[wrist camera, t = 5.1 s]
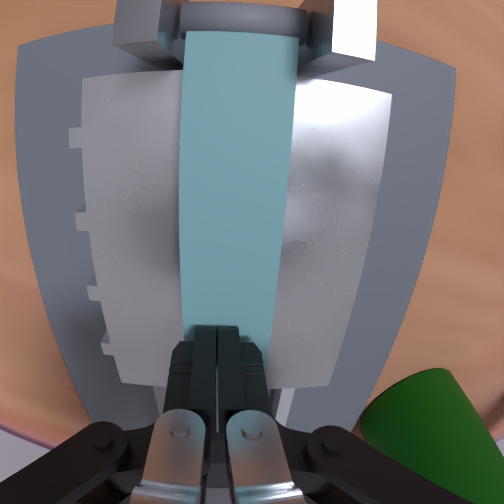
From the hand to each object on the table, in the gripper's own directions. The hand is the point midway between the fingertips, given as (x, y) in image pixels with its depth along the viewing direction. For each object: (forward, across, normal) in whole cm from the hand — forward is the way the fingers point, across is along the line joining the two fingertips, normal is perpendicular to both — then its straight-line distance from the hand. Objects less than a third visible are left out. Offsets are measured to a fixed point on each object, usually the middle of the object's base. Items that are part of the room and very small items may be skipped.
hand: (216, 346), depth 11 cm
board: (+7, 0, +3) cm, 7 cm away
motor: (+7, -17, +15) cm, 24 cm away
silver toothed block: (+5, 0, -4) cm, 7 cm away
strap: (+1, 0, -3) cm, 3 cm away
